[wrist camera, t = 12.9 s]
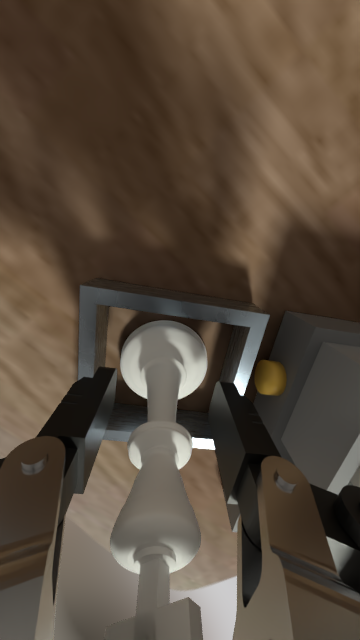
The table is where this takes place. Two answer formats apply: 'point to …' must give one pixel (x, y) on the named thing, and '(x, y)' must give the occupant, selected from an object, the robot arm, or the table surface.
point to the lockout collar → (174, 303)
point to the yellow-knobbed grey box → (312, 399)
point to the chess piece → (159, 482)
